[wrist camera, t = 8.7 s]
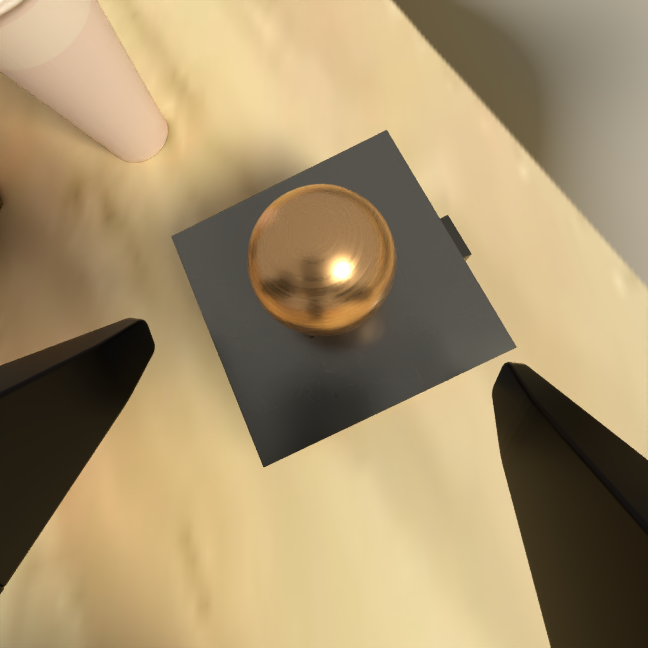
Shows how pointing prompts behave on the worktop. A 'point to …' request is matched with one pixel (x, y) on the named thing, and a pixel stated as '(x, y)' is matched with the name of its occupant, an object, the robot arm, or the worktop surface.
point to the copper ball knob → (321, 260)
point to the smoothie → (81, 73)
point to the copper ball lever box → (353, 346)
